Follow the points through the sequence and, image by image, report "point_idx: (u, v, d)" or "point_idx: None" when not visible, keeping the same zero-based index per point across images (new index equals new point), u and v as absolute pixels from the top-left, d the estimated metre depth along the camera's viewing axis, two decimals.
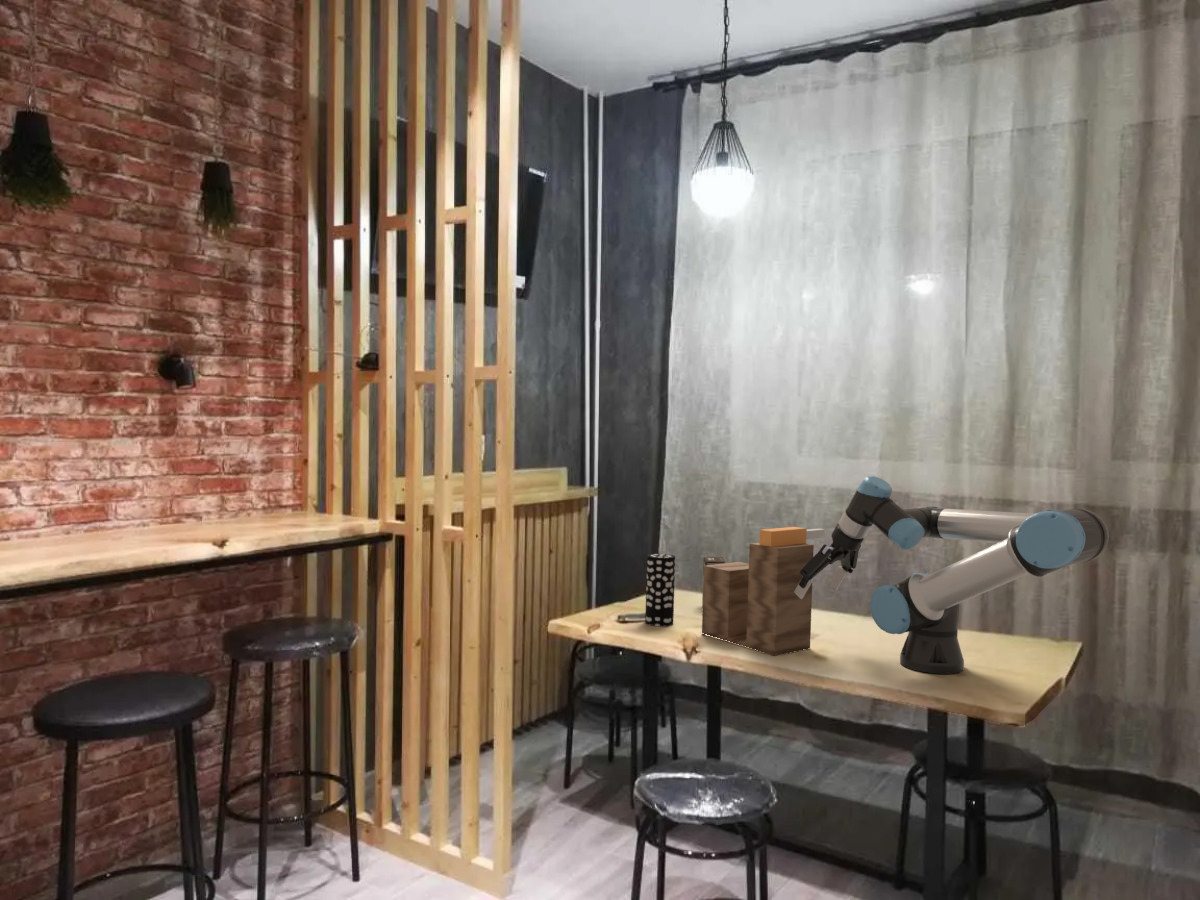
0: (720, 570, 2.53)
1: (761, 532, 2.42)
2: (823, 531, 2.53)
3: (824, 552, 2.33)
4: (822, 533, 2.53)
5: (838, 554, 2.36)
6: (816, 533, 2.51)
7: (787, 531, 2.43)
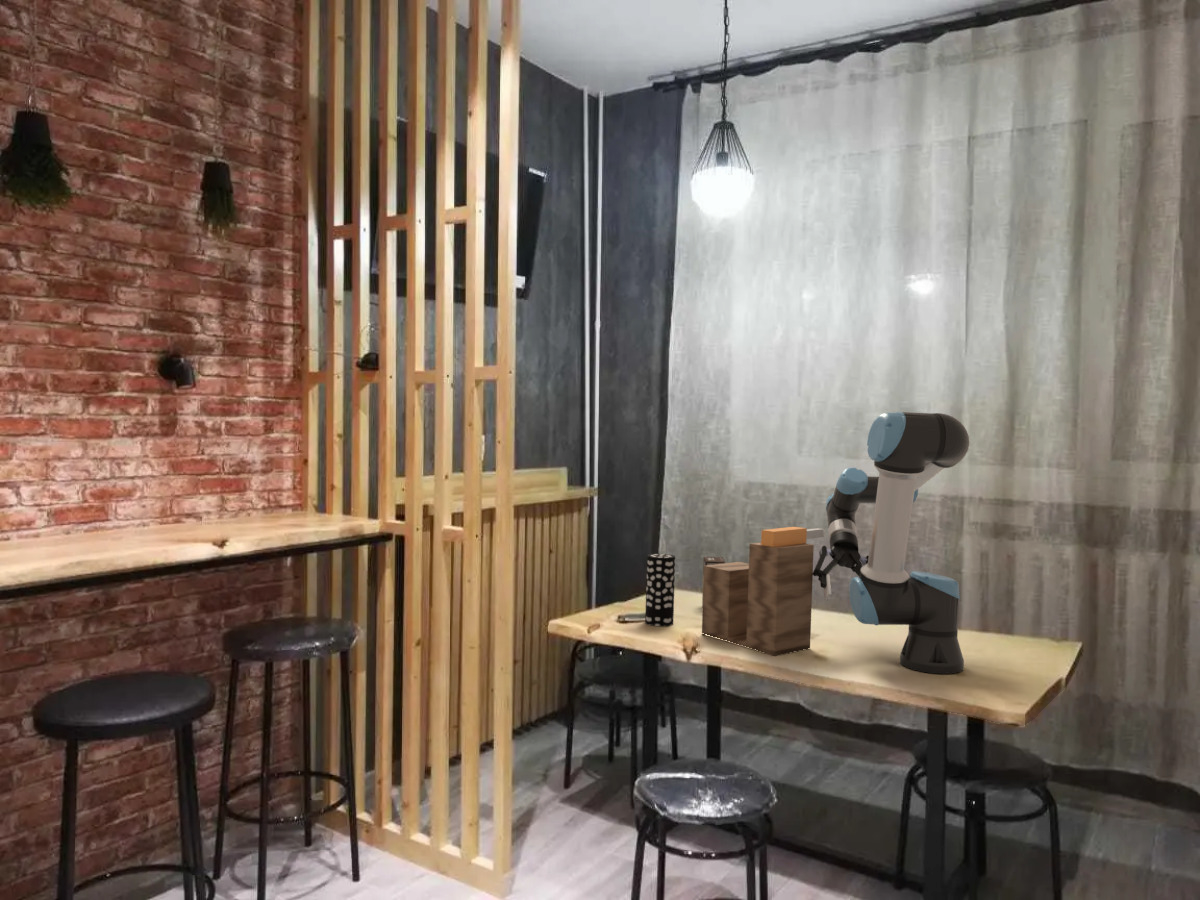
0: (720, 570, 2.53)
1: (762, 533, 2.41)
2: (822, 531, 2.54)
3: (821, 551, 2.49)
4: (821, 533, 2.53)
5: (839, 552, 2.49)
6: (816, 533, 2.52)
7: (788, 531, 2.43)
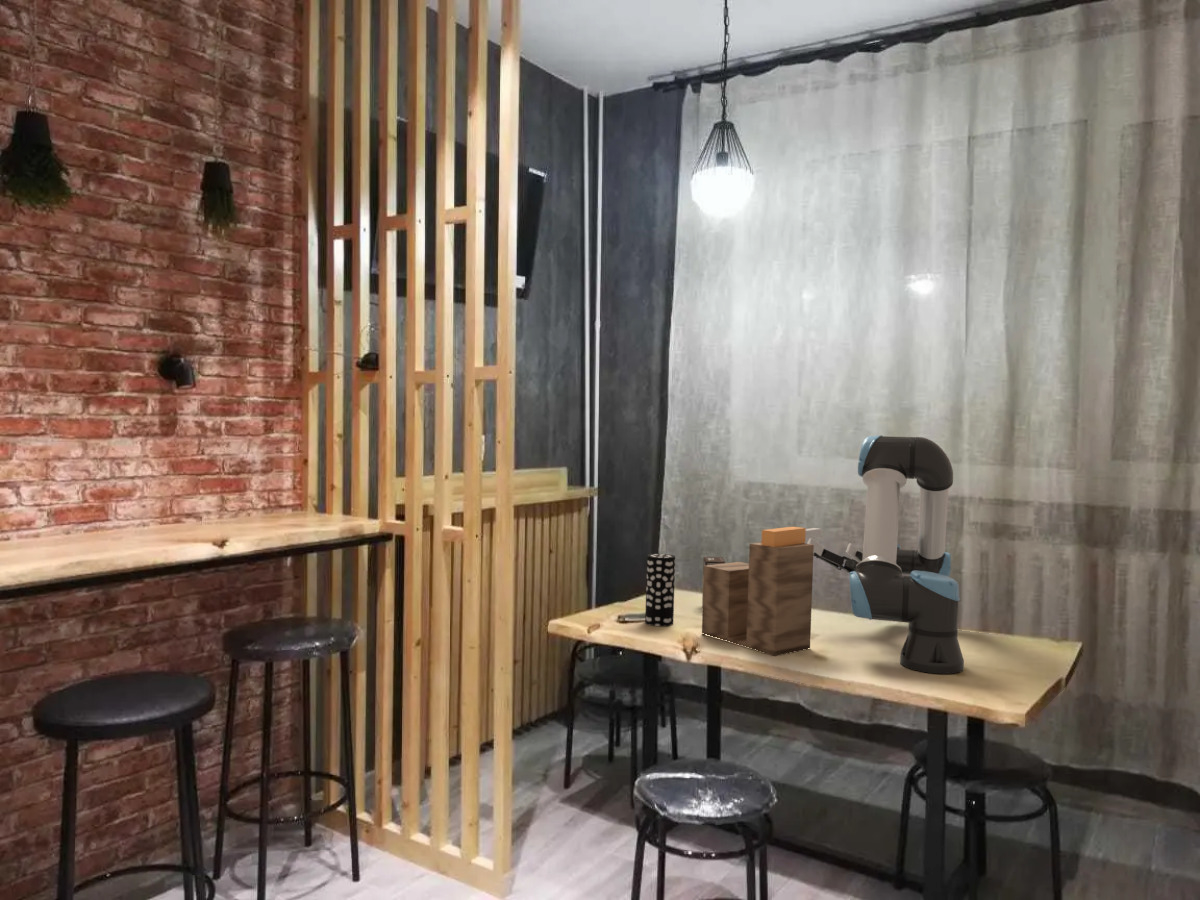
0: (720, 570, 2.53)
1: (763, 533, 2.41)
2: (820, 530, 2.54)
3: None
4: (819, 532, 2.54)
5: None
6: (814, 533, 2.52)
7: (788, 531, 2.43)
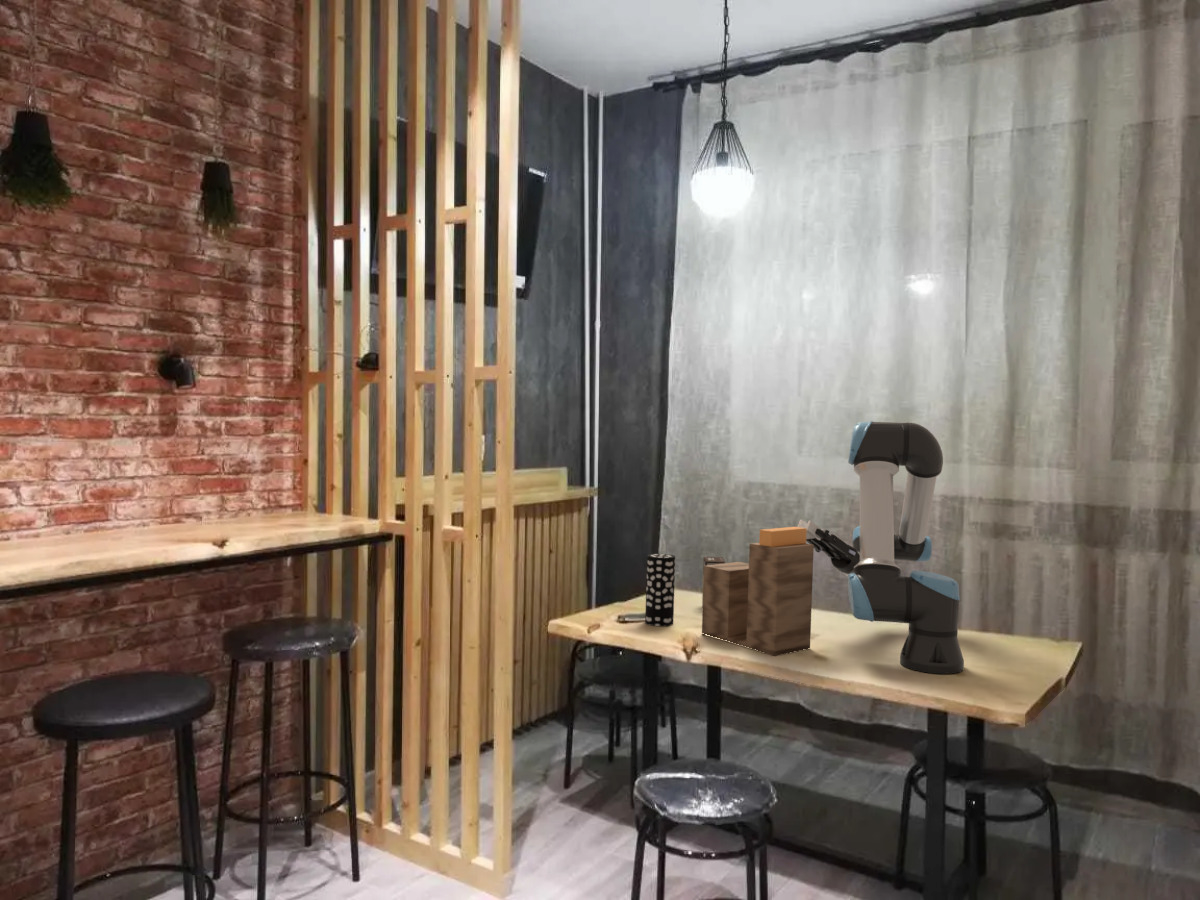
0: (720, 570, 2.53)
1: (761, 532, 2.42)
2: None
3: None
4: None
5: None
6: None
7: (787, 531, 2.43)
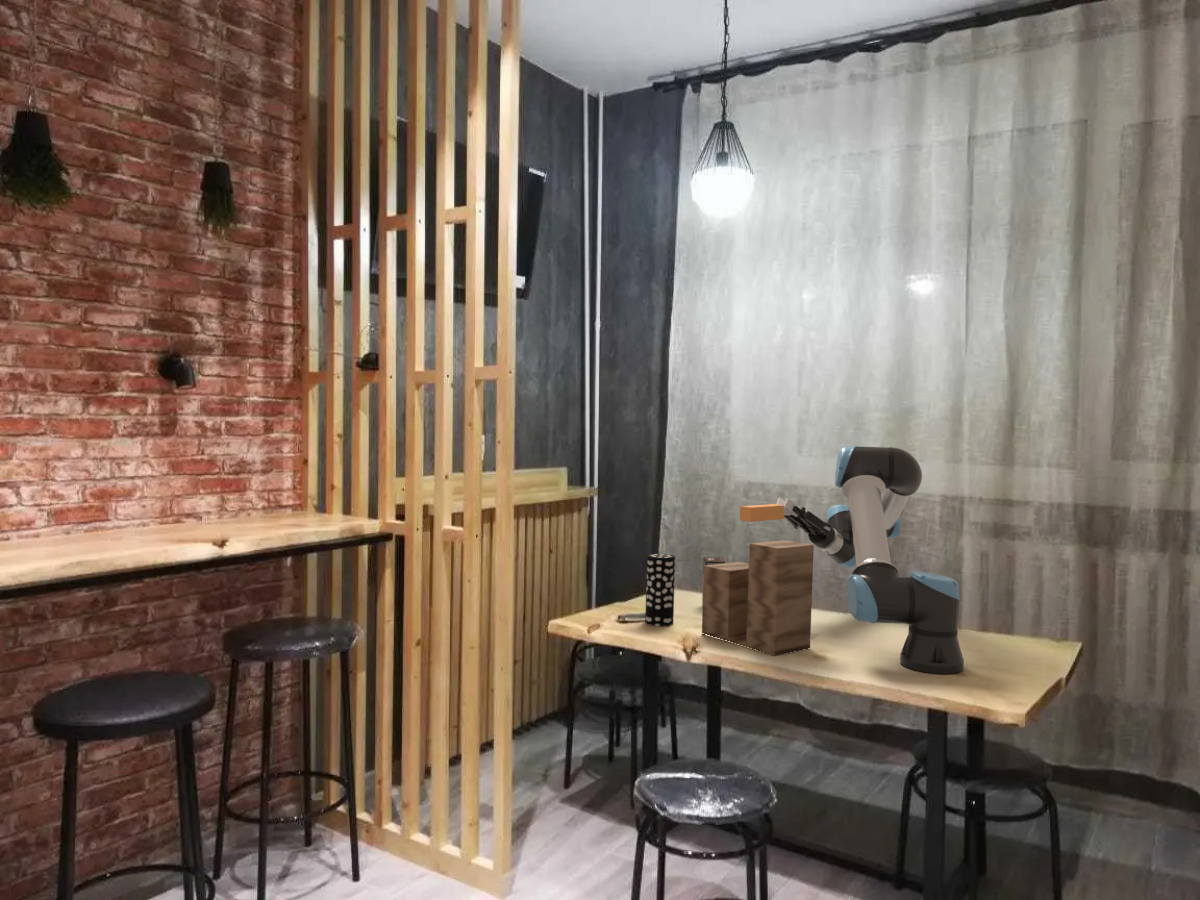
0: (720, 570, 2.53)
1: (741, 509, 2.61)
2: (800, 508, 2.72)
3: None
4: None
5: None
6: None
7: (765, 507, 2.62)
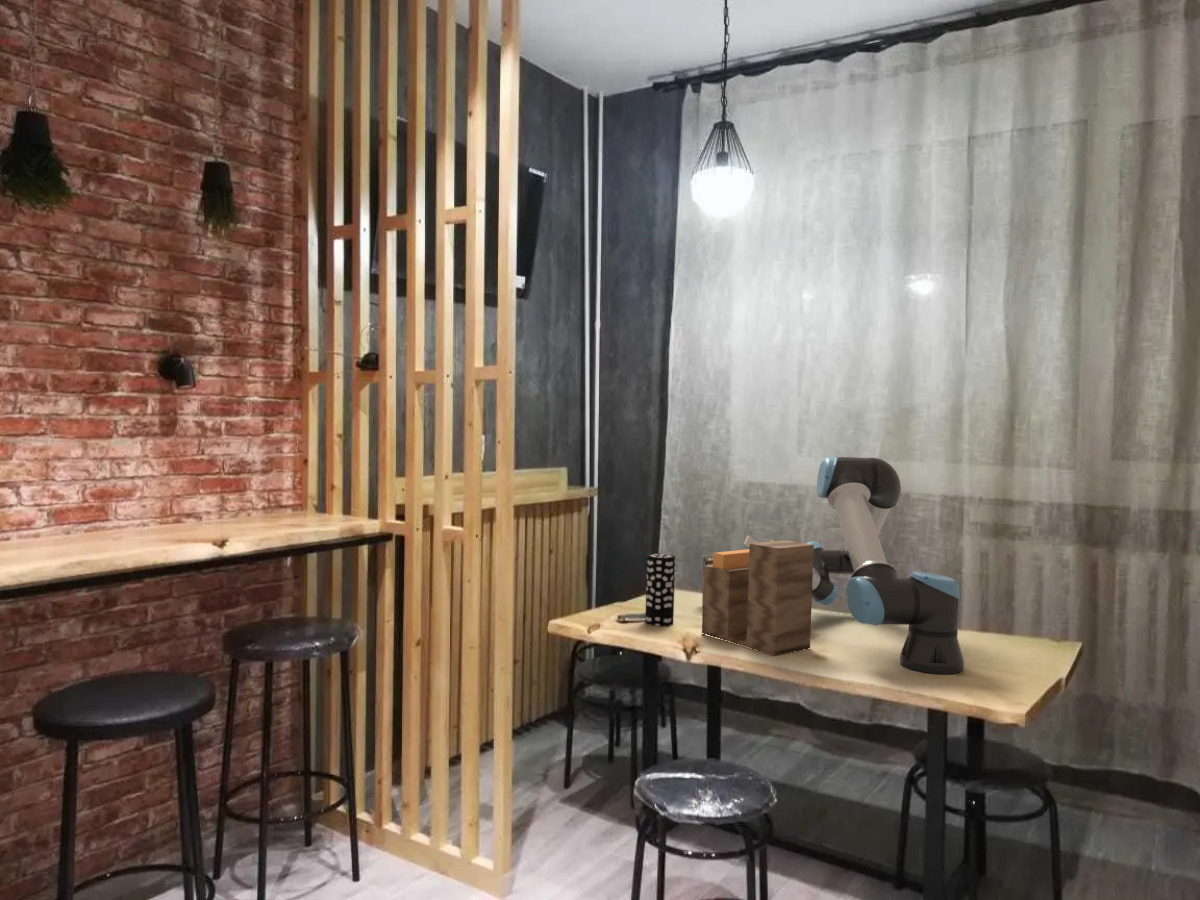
0: (720, 570, 2.53)
1: (714, 555, 2.55)
2: None
3: None
4: None
5: None
6: None
7: (739, 554, 2.57)
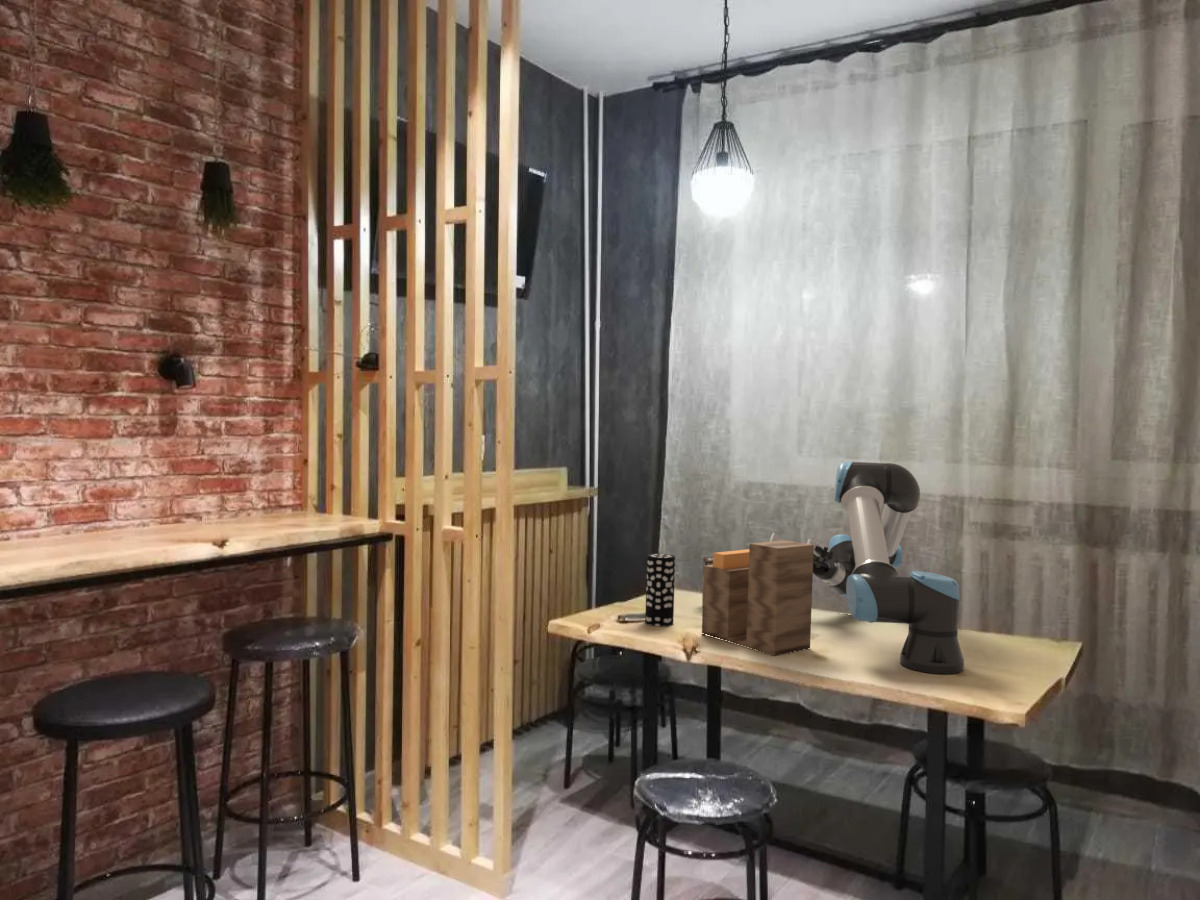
0: (720, 570, 2.53)
1: (714, 555, 2.55)
2: None
3: None
4: None
5: None
6: None
7: (739, 554, 2.57)
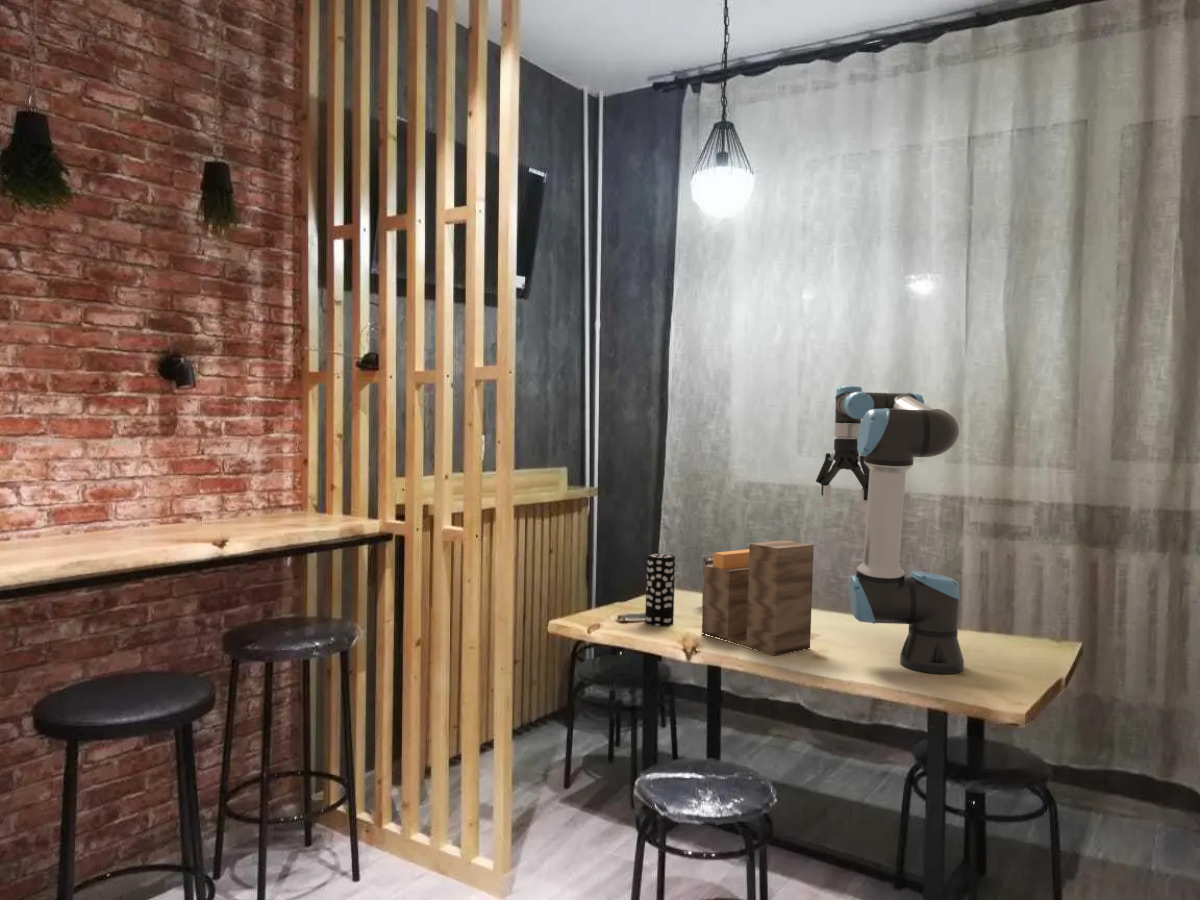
0: (720, 570, 2.53)
1: (714, 555, 2.55)
2: None
3: None
4: None
5: None
6: None
7: (739, 554, 2.57)
